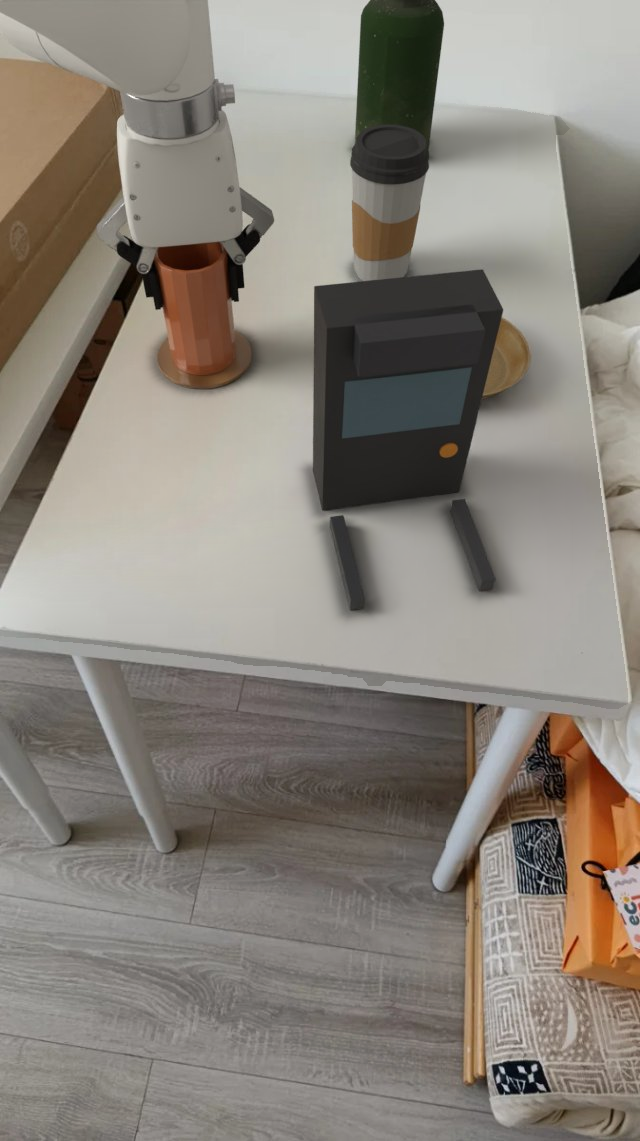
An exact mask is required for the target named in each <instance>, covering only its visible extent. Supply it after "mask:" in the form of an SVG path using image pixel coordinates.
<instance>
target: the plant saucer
mask: <svg viewBox="0 0 640 1141" xmlns="http://www.w3.org/2000/svg"><path fill="white" fill-rule="evenodd" d="M531 359H532V355H531V348H530V345H529V343H528V341H527V339H526V337H525V336H524V334H523V333H522V332H521V331H520V330H519V329H518V328H517V327H516V326H515V325H514V324H513V323H512V322H510V321H509V320H507V319H506V318H505V317H502V318H501V322H500V326H499V330H498V334H497V338H496V343H495V347H494V351H493V355H492V359H491V363H490V367H489V371H488V376H487V380H486V384H485V388H484V392H483V396H482V400H483V399H487V398H491V397H493V396H496V395H498V394H501V393H503V392H504V391H506V390H508V389H510V388H511V387H513V386H514V385H516V384H517V383H518V382H520V381H521V379H523V377H524V376H525V375H526V373H527V371H528V370H529V367H530V364H531Z"/></svg>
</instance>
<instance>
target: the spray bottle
mask: <svg viewBox="0 0 640 1141" xmlns="http://www.w3.org/2000/svg"><path fill="white" fill-rule="evenodd" d="M359 27H360V28H359V45H358V47H359V48H358V67H357V69H358V70H357V87H356V88H357V89H356V110H355V111H356V112H355V130H354V131H355V132H354V144H355V143H356V139H357V136H358V135H359V133H361V132H362V131H363V130H365V129H367V128H369V127H373V126H377V125H386V124H390V125H401V126H406V127H409V128H412V129H414V130H416V131H418V132H420V133H421V134H422V135H423V136H424V137H425V139H426V145H427V146H426V147H427V149H428V151H430V150H429V149H430V141H431V134H432V126H433V125H432V124H433V118H434V109H435V102H436V94H437V84H438V76H439V69H440V62H441V55H442V54H441V53H442V47H443V46H442V44H443V37H444V30H445V29H444V28H445V18H444V12H443V10H442V8H441V7H440V5H439V3H438V2H437V1H436V0H369V1H368V2H367V3H366V5H365V6H364V7H363V9H362V12H361V15H360V26H359Z"/></svg>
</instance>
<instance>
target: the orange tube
mask: <svg viewBox="0 0 640 1141" xmlns="http://www.w3.org/2000/svg"><path fill="white" fill-rule="evenodd" d="M154 261H155V267H156V271H157V277H158V283H159V288H160V294H161V299H162V306H163V308H162V310H163V311H162V312H163V316H164V322H165V328H166V334H167V338H168V340H169V345H170V351H171V357H172V360H173V362H174V364H175V365H176V366H177V367H178V368H179V369H180V370H182V371H184V372H186V373H189V374H193V375H211V374H215V373H218V372H221V371H223V370H224V369H226V368H227V367H229V366H230V365H231V364H232V363H233V361H234V359H235V357H236V342H235V332H234V330H235V322H234V311H233V302H232V300H231V291H230V281H229V270H228V256H227V251H226V249H225V248H224V246H223V245H222V243H221V242H212V243H202V244H191V245H180V246H168V247H158V249H157V251H156V254H155V257H154Z"/></svg>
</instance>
